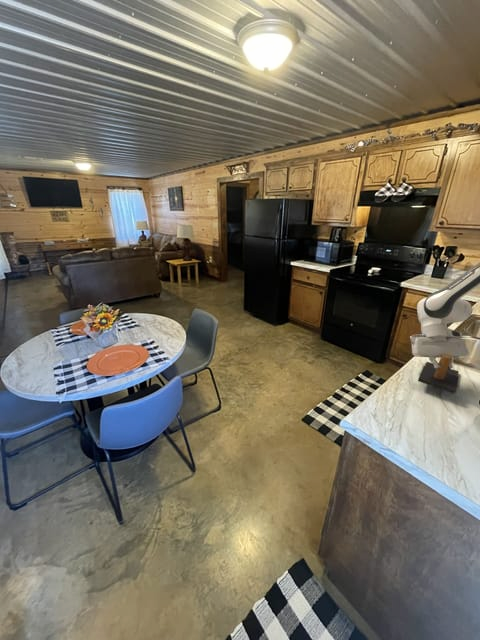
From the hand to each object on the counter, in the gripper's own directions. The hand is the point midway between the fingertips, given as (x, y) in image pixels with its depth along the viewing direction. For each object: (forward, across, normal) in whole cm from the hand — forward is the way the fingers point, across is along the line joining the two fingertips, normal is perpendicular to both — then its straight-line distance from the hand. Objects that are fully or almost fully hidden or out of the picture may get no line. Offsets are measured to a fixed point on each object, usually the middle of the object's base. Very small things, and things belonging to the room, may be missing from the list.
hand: (443, 368), depth 103 cm
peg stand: (+3, +1, +6) cm, 7 cm away
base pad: (0, +8, +14) cm, 16 cm away
